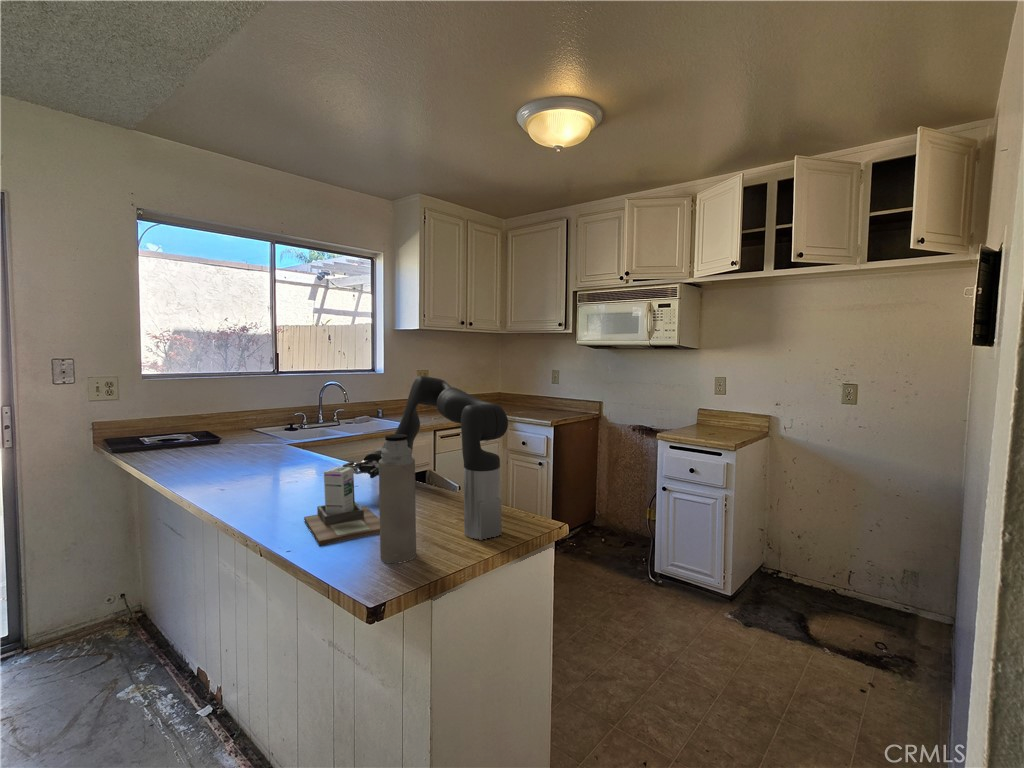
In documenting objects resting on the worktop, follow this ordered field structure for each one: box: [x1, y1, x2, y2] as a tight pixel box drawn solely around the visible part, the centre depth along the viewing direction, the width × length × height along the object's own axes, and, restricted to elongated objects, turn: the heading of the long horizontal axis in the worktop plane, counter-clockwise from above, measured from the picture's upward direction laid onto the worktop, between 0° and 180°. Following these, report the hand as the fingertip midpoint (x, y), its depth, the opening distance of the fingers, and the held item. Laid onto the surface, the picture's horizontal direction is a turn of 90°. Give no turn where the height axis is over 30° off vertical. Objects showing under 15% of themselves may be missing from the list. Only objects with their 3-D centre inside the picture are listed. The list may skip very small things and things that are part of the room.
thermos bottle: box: [378, 433, 417, 564], centre depth 111 cm, size 8×8×28 cm
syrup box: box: [323, 466, 356, 515], centre depth 135 cm, size 6×6×14 cm
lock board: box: [303, 501, 380, 546], centre depth 131 cm, size 20×17×4 cm
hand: (357, 474), depth 146 cm, fingers open, 8 cm apart
